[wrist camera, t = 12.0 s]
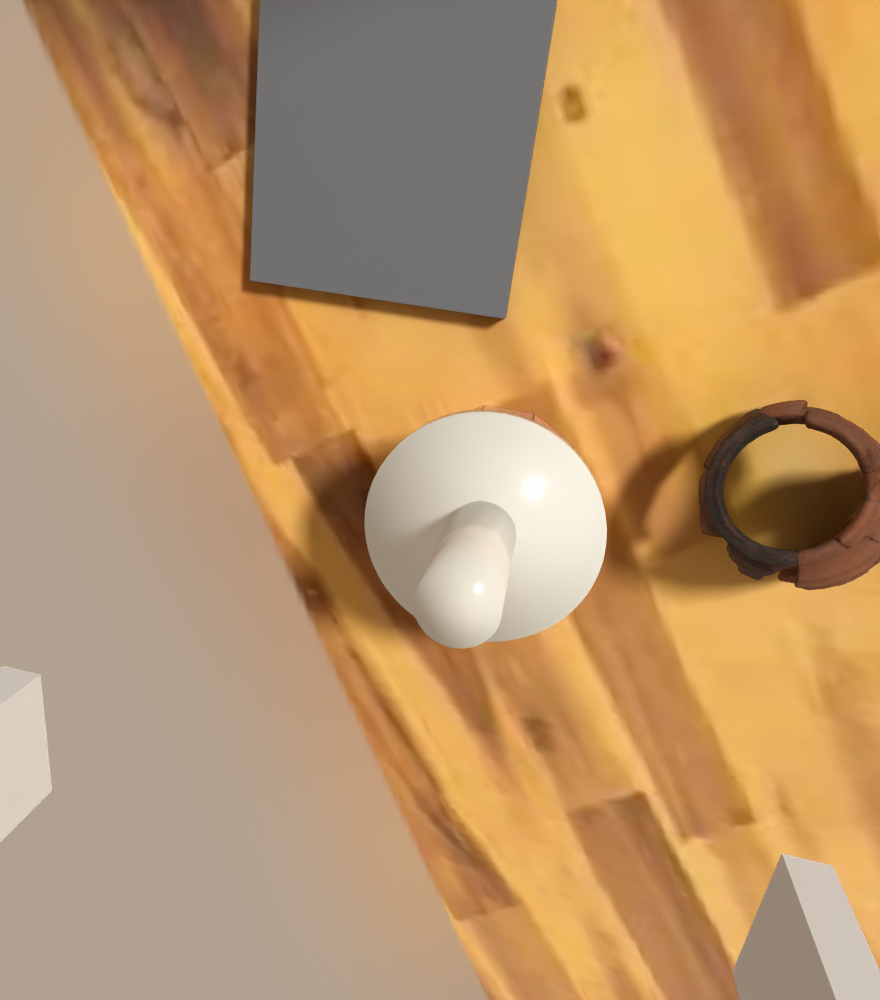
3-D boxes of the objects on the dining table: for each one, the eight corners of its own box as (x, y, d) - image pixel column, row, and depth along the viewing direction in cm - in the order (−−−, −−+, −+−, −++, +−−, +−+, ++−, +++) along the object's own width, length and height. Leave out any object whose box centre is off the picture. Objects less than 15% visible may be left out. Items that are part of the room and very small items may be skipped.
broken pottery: (729, 596, 38) (705, 602, 31) (700, 439, 39) (670, 411, 32) (993, 568, 32) (1038, 569, 25) (945, 385, 33) (974, 336, 26)
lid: (384, 389, 32) (319, 425, 23) (632, 434, 30) (658, 491, 22) (358, 605, 36) (295, 702, 27) (576, 654, 34) (580, 773, 26)
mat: (269, -21, 32) (260, -30, 31) (556, 5, 30) (556, -4, 29) (258, 280, 36) (249, 280, 35) (505, 317, 35) (504, 318, 34)
